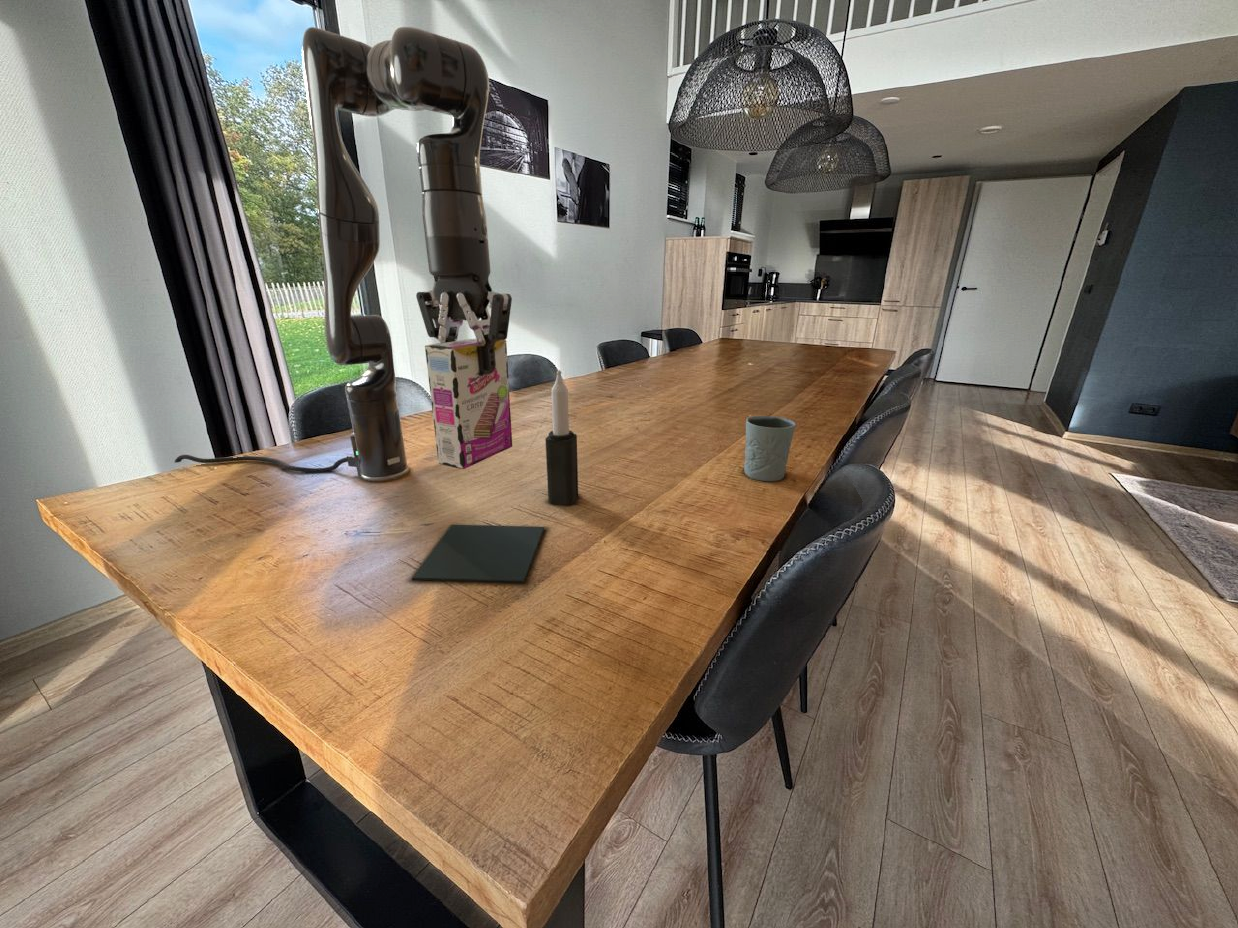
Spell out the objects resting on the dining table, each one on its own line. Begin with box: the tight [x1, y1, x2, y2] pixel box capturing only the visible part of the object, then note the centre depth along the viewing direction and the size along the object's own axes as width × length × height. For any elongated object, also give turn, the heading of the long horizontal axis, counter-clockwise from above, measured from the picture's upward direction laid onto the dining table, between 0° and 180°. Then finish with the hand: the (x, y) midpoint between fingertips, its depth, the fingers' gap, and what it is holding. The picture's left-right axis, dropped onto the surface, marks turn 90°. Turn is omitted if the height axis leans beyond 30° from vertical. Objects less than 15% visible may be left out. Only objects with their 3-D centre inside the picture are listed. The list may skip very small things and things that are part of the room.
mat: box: [411, 524, 545, 584], centre depth 77 cm, size 16×16×1 cm
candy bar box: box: [424, 337, 513, 470], centre depth 69 cm, size 11×5×16 cm, turn 155°
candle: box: [544, 369, 579, 506], centre depth 91 cm, size 5×5×25 cm
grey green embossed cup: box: [743, 415, 797, 482], centre depth 106 cm, size 10×10×12 cm
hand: (470, 371), depth 67 cm, fingers closed on candy bar box, 5 cm apart
